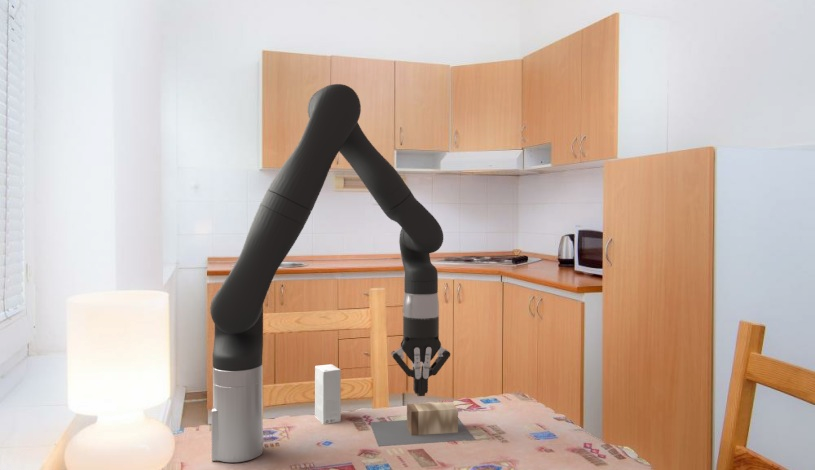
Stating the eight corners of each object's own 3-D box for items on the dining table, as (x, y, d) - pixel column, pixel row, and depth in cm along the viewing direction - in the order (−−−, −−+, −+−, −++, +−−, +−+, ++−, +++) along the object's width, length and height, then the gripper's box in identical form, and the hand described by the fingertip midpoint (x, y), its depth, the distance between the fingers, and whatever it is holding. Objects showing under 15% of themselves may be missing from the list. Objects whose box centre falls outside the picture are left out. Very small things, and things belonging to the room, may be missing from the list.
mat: (378, 448, 121) (378, 446, 121) (369, 423, 135) (369, 422, 135) (475, 441, 124) (475, 439, 124) (457, 418, 138) (457, 416, 138)
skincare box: (341, 423, 135) (341, 369, 135) (323, 426, 133) (323, 371, 133) (332, 415, 140) (331, 363, 140) (314, 417, 139) (314, 365, 138)
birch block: (411, 411, 126) (458, 409, 128) (407, 404, 131) (452, 401, 133) (411, 435, 127) (457, 432, 128) (406, 427, 131) (451, 424, 133)
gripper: (392, 317, 124) (392, 402, 124) (455, 316, 126) (455, 398, 127) (387, 311, 131) (387, 391, 132) (447, 310, 133) (446, 388, 134)
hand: (420, 395), depth 129 cm, fingers closed
